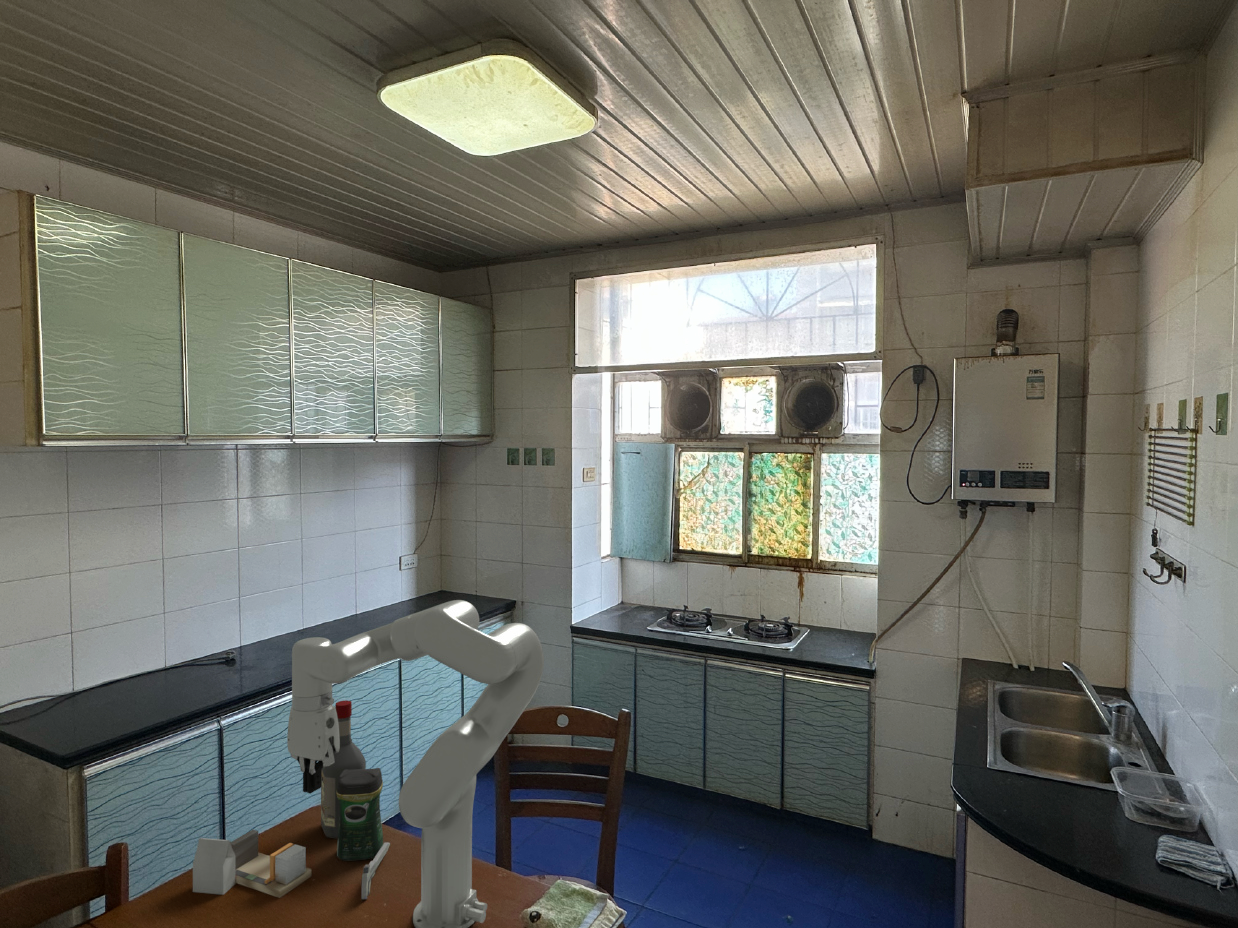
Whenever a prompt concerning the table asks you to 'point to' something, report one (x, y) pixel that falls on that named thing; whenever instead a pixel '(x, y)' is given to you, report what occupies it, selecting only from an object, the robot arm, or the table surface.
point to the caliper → (372, 870)
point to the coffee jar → (359, 814)
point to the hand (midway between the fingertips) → (312, 789)
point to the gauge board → (259, 867)
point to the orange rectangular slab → (272, 861)
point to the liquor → (338, 770)
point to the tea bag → (213, 866)
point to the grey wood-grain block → (290, 864)
